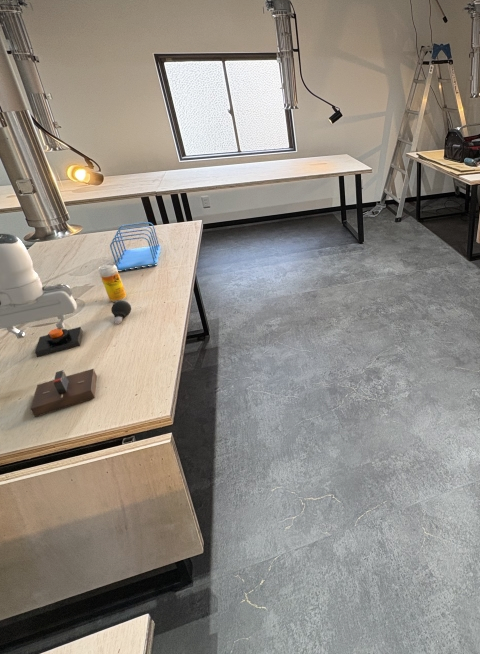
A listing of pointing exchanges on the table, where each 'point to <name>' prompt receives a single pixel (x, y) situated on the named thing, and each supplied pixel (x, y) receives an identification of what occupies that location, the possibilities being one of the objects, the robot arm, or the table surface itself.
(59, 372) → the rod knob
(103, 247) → the table surface
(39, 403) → the rod panel
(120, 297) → the yellow canister
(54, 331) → the button
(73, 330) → the button block
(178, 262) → the table surface
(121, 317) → the light bulb
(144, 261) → the file sorter
